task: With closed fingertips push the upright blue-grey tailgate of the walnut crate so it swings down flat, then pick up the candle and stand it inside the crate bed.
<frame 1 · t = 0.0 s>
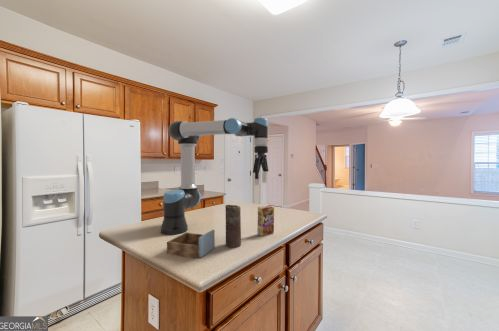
hand: (261, 183, 130), 28 cm above the counter, fingers open, 13 cm apart
tailgate: (207, 243, 101), point 5 cm above the counter, hinge at 0.0°
candy box: (265, 234, 129), on the counter
crate: (192, 252, 104), on the counter
candle: (233, 247, 110), on the counter
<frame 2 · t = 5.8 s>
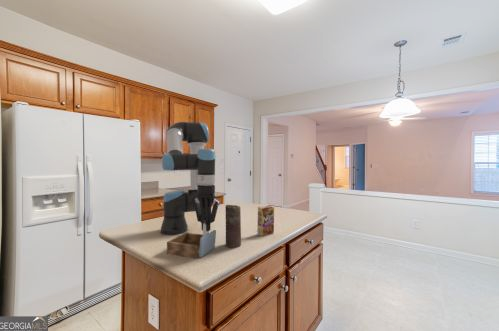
hand: (205, 237, 101), 7 cm above the counter, fingers closed
tailgate: (207, 243, 101), point 5 cm above the counter, hinge at 6.1°, touching gripper
everything else where it was.
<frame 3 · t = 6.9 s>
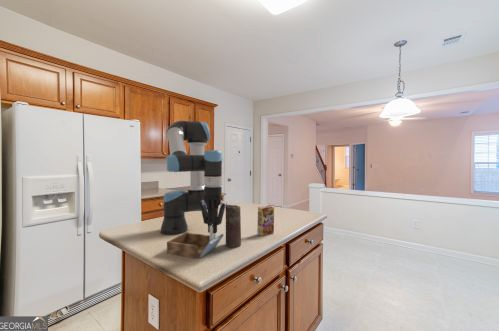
hand: (212, 240, 100), 7 cm above the counter, fingers closed
tailgate: (211, 246, 100), point 4 cm above the counter, hinge at 36.2°, touching gripper
everything else where it was.
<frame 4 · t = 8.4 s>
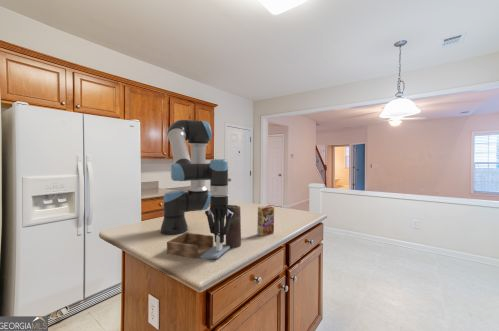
hand: (219, 249, 99), 3 cm above the counter, fingers closed
tailgate: (214, 252, 100), point 2 cm above the counter, hinge at 80.0°, touching gripper
everything else where it was.
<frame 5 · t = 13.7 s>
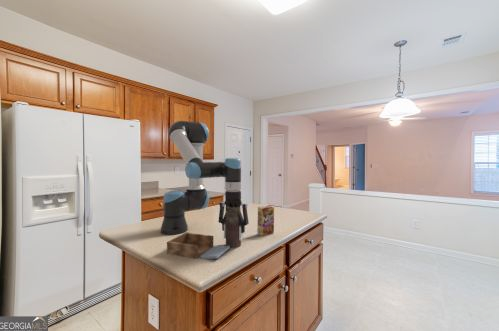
hand: (233, 238, 110), 4 cm above the counter, fingers closed on candle, 7 cm apart
tailgate: (214, 252, 100), point 2 cm above the counter, hinge at 80.0°
candle: (233, 247, 110), on the counter, touching gripper
everything else where it was.
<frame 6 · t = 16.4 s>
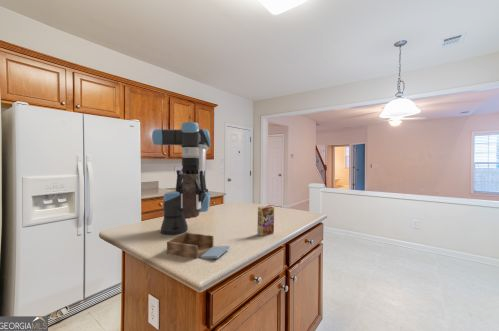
hand: (191, 208, 104), 20 cm above the counter, fingers closed on candle, 7 cm apart
candle: (191, 217, 104), point 16 cm above the counter, touching gripper
everything else where it was.
when the fingers open (7 cm above the counter, at t = 19.2 s): candle drops 2 cm, resting on crate.
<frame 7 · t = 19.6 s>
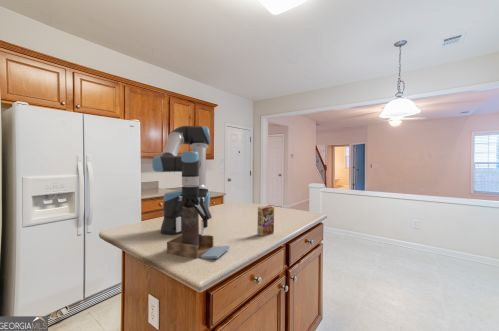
hand: (190, 233, 104), 9 cm above the counter, fingers open, 13 cm apart
candle: (190, 250, 104), point 1 cm above the counter, touching crate
everything else where it was.
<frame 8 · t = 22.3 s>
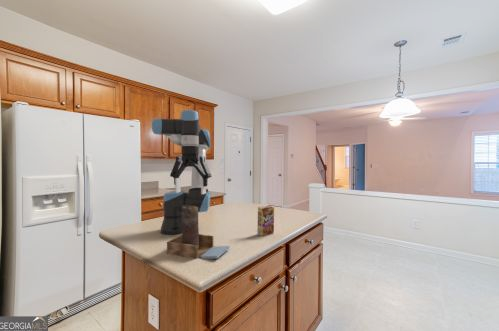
hand: (190, 193, 103), 27 cm above the counter, fingers open, 13 cm apart
nothing on the counter moved.
at the end: tailgate at +80° (first picture: +0°); candle inside the target area on the crate (0.2 cm from its centre), point 0.8 cm above the crate's base; candle tilted 0° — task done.
